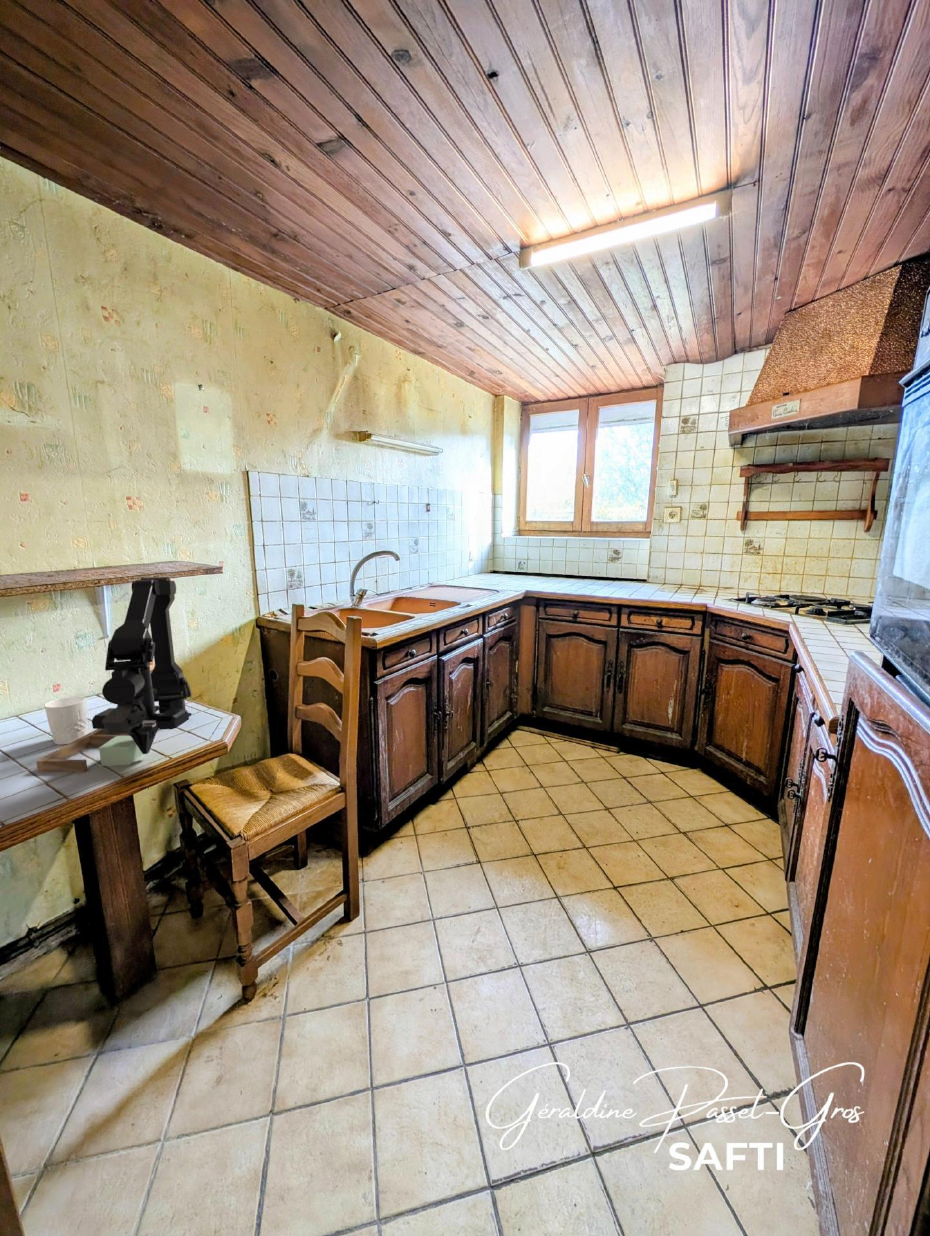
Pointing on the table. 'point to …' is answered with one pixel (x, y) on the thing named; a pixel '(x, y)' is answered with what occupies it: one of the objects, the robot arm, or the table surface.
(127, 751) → the sage green block
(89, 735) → the walnut slot rack
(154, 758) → the table surface
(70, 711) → the white cup
